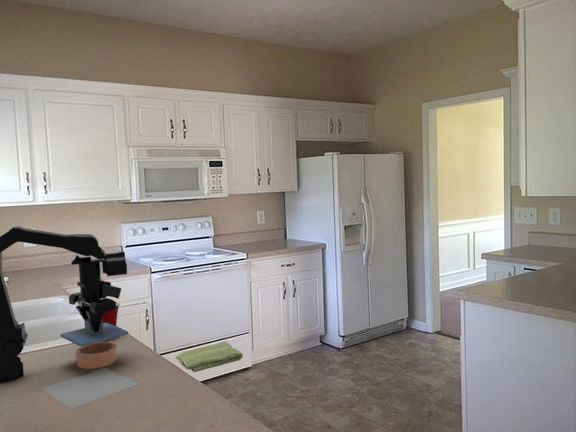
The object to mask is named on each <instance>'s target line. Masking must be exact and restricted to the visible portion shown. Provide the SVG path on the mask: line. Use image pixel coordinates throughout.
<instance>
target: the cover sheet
mask: <svg viewBox="0 0 576 432" xmlns="http://www.w3.org/2000/svg"><path fill="white" fill-rule="evenodd" d="M83 322H84V327H83V328H78V329H76V330H72V331H71V330H70V331H67V332H66V331H65V332H62V333H60V337H61V338H63V339H64V340H67V341H68V342H70V343H72V344H74V345H76V346H78V347H79V348H80V347H83V346H87V345H90V344H94V343H98V342H106V341H108V340H112V339H116V338H119V337H123V336H126V335H129V331H128V330H126V329H123V328H121V327H118V326H117V325H116V326H113V325H111V324H108V323H103V321H102V320H101V324H100V328H99V331H98V332H94V330H93V328H92V325H91V323H90V321H89V319H86V320H83Z"/></svg>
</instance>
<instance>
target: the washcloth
mask: <svg viewBox="0 0 576 432" xmlns="http://www.w3.org/2000/svg"><path fill="white" fill-rule="evenodd" d="M243 356H244V354H243V352H241V351H239V350H238V349H237V348H234V347H233V346H232V345H231V344H230V343H229V342H226V341H220V342H217V343H215V344H209V345H206V346H203V347H199V348H194V349H190V350H187V351H186V350H185V351H183V352H181V353H179V354H177V356H175V359H176V360H177V361H178V363H179V364H181V365H182V367H183V368H185V369H186V370H189V371H192V373H197V372H201V371H205V370H208V369H211V368H216V367H219V366H223V365H227V364H230V363H234V362H238V361H240V360H241V359H243Z"/></svg>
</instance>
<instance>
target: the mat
mask: <svg viewBox="0 0 576 432" xmlns="http://www.w3.org/2000/svg"><path fill="white" fill-rule="evenodd" d="M138 385H139V383H138V382H135V381H133V380H131V379H129V378H127V377H125V376H123V375H121V374H119V373H117V372H115V371H113V370H111V369H109V368H107V367H102V368H99V369H97V370H94V371H92V372H89V373H85V374H82V375H79V376H76V377H72V378H69V379H67V380H64V381H59V382H58V383H55V384H52V385H49V386H45V387H41V388H40V390H42V391H43V392H44V393H46V394H47V395H48V396H51V397H52V398H54V399H55V400H56V401H58V402H59V403H61V405H64V406H65V407H67V408H68V409H70V410H72V409H75V408H77V407H80V406H83V405H86V404H89V403H91V402H93V401H96V400H99V399H102V398H105V397H108V396H110V395H114V394H115V393H116V394H117V393H118V392H121V391H124V390H126V389H129V388H132V387H135V386H138Z"/></svg>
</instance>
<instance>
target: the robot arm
mask: <svg viewBox="0 0 576 432" xmlns="http://www.w3.org/2000/svg"><path fill="white" fill-rule="evenodd" d="M16 243H27V244H32V245H39V246H45V247H52V248H58V249H59V248H60V249H63V250H67V251H69V252H71V253H74V254H76V255H75V257H74V258H73V259H72V261H71V265H73V266H75V265H78V273H79V276H78V277H79V281H78V282H77V283H76V286H77V287H80V289H79V290H80V292H74V293H71V294H70V295H69V296H68V303H69V304H70V305H72V306H73V305H74V306H75V305H76V303H77V305H76V306H75V309H76V311H78V313H79V315H80V316H81V317H82V319H83V321H84V320H86V319H89V321H90V323H91V325H92V328H93V330H94V332H98V331H99V328H100V324H101V320H102V316H103V314H104V313H105V312H107V311H111V310H115V309H117V308H116V302H117V301H116V300H114V299H112V298H115V299H117V300H119V299H120V295H121V292H122V288H121V287H119V286H114V285H112V282H110V281H106V280H102V277H101V276H102V275H101V267H102V273H103V274H105V275H107V277H113V276H125V275H128V263H127V261H126V253H125V251H117V252H110V253H108V252H107V253H106V251H105V250H104V249H103V248H101V246H100V245H99V241H98V238H97V237H96V236H95V235H94V234H91V233H73V234H72V233H71V234H63V233H57V232H52V231H46V230H45V231H44V230H38V229H31V228H25V227H22V226H19V225H18V226H17V225H16V226H13V227H11V228H10V229H9V230H8V231H6V232H5V233H4V234H2V235H0V384H3V383H10V382H13V381H16V380H18V379H19V378H23V377H25V371H24V363H23V361H21V357H20V356H19V355H20V354H21V353H22V351H23V349H24V347H25V344H26V343H27V339H28V336H29V334H28V333H27V331H26V326H25V323H24V322H21V323H18V321H17V320H16V316H15V313H14V310H13V306H12V303H11V299H10V296H9V293H8V288H7V285H6V281H5V280H6V279H5V277H4V273H3V251H5V250H7V249H8V248H10V247H11V246H13V245H14V244H16ZM79 255H80V256H79ZM81 256H83V257H81ZM91 256H92V257H93V258H94V259H93V258H92V257H91ZM101 264H102V266H101ZM108 297H110V298H108ZM111 297H112V298H111Z"/></svg>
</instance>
